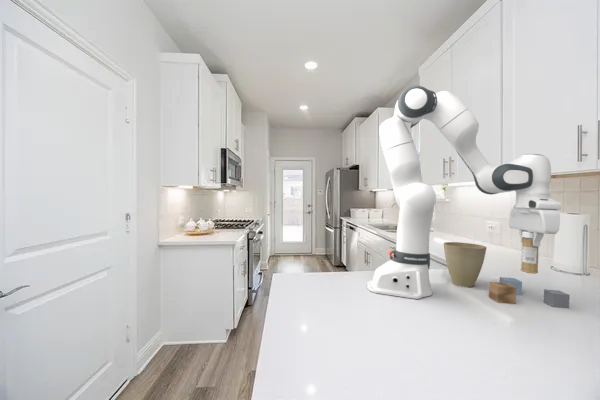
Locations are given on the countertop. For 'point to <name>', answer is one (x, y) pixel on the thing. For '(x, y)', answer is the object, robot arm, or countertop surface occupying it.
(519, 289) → the slate blue block
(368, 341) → the countertop surface
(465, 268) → the plant pot
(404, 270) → the robot arm
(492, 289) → the walnut block
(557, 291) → the charcoal block
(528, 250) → the sprinkles bottle
